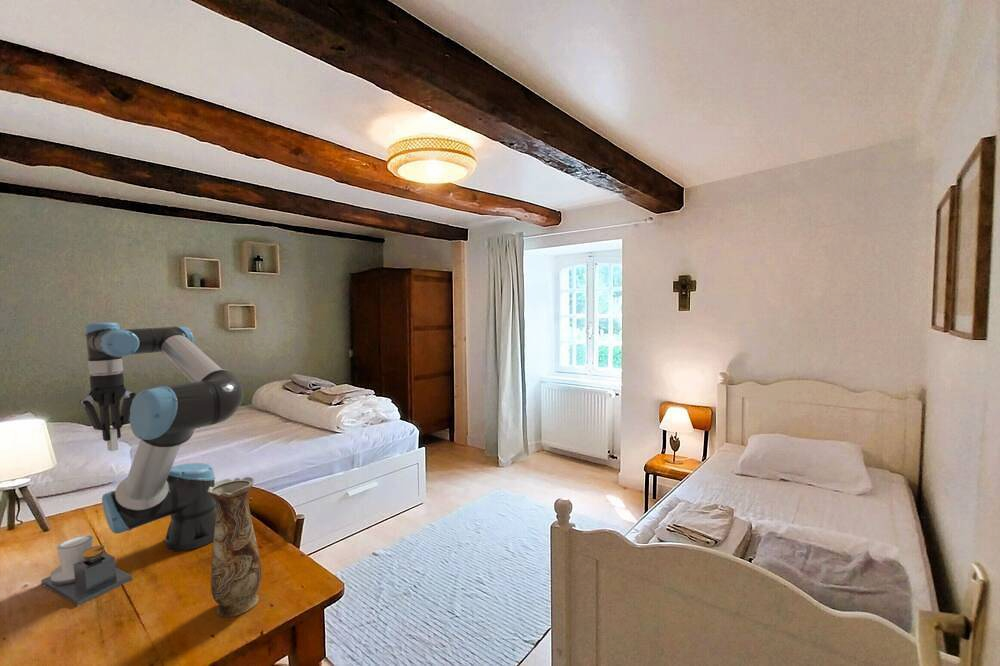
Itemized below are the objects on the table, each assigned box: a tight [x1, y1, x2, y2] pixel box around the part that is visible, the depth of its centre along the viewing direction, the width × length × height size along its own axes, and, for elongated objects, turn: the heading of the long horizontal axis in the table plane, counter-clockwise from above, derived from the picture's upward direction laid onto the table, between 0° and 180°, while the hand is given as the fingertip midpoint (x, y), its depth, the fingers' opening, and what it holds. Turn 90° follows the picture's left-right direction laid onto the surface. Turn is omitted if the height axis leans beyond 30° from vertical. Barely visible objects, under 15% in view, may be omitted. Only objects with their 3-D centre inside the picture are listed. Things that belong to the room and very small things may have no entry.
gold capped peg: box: [83, 544, 105, 566], centre depth 111 cm, size 4×4×8 cm
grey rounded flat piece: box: [50, 565, 75, 585], centre depth 115 cm, size 10×10×2 cm
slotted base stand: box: [40, 551, 133, 606], centre depth 113 cm, size 20×11×7 cm, turn 65°
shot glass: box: [56, 534, 94, 573], centre depth 115 cm, size 7×7×7 cm
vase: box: [207, 476, 262, 618], centre depth 103 cm, size 10×11×30 cm
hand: (113, 449), depth 130 cm, fingers closed
